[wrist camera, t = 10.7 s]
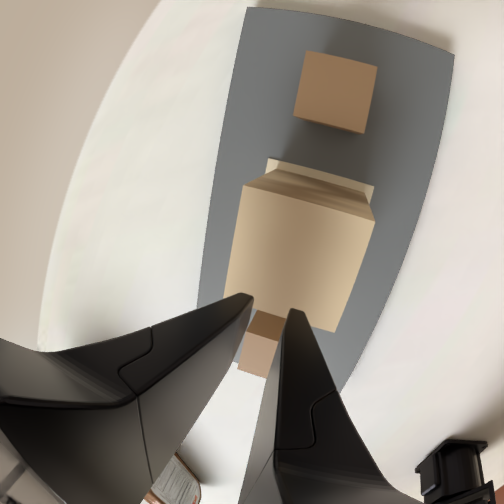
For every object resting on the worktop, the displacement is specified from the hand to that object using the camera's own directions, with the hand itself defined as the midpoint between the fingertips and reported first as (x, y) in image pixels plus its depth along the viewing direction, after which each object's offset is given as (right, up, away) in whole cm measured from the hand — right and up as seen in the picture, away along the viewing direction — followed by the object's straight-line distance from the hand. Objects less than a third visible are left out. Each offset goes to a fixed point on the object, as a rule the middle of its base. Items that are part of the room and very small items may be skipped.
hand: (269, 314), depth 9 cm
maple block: (+3, +3, +9) cm, 10 cm away
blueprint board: (+3, +4, +10) cm, 11 cm away
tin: (-10, -28, +27) cm, 40 cm away
